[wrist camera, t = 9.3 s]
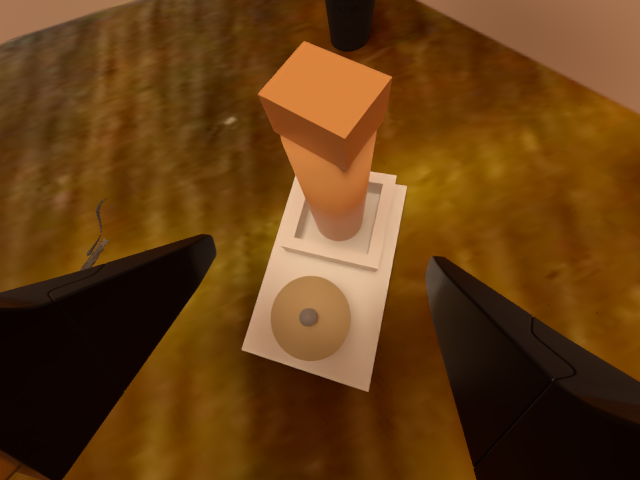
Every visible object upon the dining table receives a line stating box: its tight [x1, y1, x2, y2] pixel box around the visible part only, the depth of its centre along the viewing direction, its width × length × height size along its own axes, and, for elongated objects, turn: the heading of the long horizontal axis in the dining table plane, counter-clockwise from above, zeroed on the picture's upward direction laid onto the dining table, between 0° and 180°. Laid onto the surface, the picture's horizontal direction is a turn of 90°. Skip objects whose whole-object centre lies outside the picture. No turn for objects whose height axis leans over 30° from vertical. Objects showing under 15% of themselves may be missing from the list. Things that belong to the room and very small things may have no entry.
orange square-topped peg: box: [258, 41, 392, 241], centre depth 15 cm, size 4×4×14 cm
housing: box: [242, 172, 407, 392], centre depth 20 cm, size 18×11×5 cm, turn 166°
